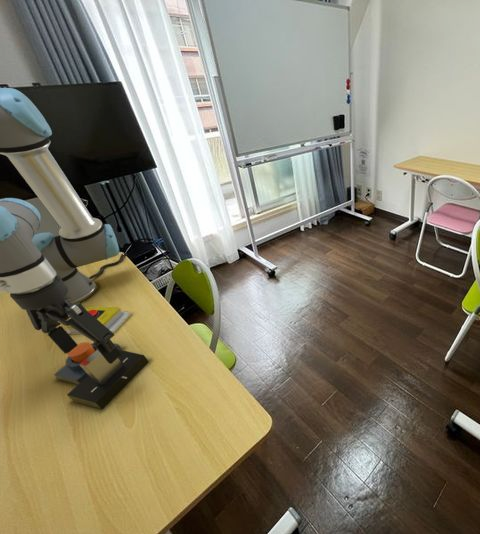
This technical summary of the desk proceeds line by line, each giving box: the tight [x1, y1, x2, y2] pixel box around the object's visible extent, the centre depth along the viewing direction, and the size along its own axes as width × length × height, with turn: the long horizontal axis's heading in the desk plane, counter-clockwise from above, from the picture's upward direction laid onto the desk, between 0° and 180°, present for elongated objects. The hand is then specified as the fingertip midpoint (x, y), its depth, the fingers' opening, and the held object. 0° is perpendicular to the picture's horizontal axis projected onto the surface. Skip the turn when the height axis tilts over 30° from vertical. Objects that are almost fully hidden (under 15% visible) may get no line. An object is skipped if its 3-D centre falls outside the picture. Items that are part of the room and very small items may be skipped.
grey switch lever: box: [80, 350, 124, 385], centre depth 73 cm, size 6×2×8 cm, turn 166°
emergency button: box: [66, 306, 131, 335], centre depth 93 cm, size 9×4×15 cm
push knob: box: [67, 341, 95, 363], centre depth 79 cm, size 5×5×3 cm
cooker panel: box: [66, 350, 149, 410], centre depth 76 cm, size 14×11×3 cm
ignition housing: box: [53, 341, 123, 385], centre depth 81 cm, size 12×8×4 cm, turn 166°
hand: (92, 354), depth 70 cm, fingers open, 13 cm apart
